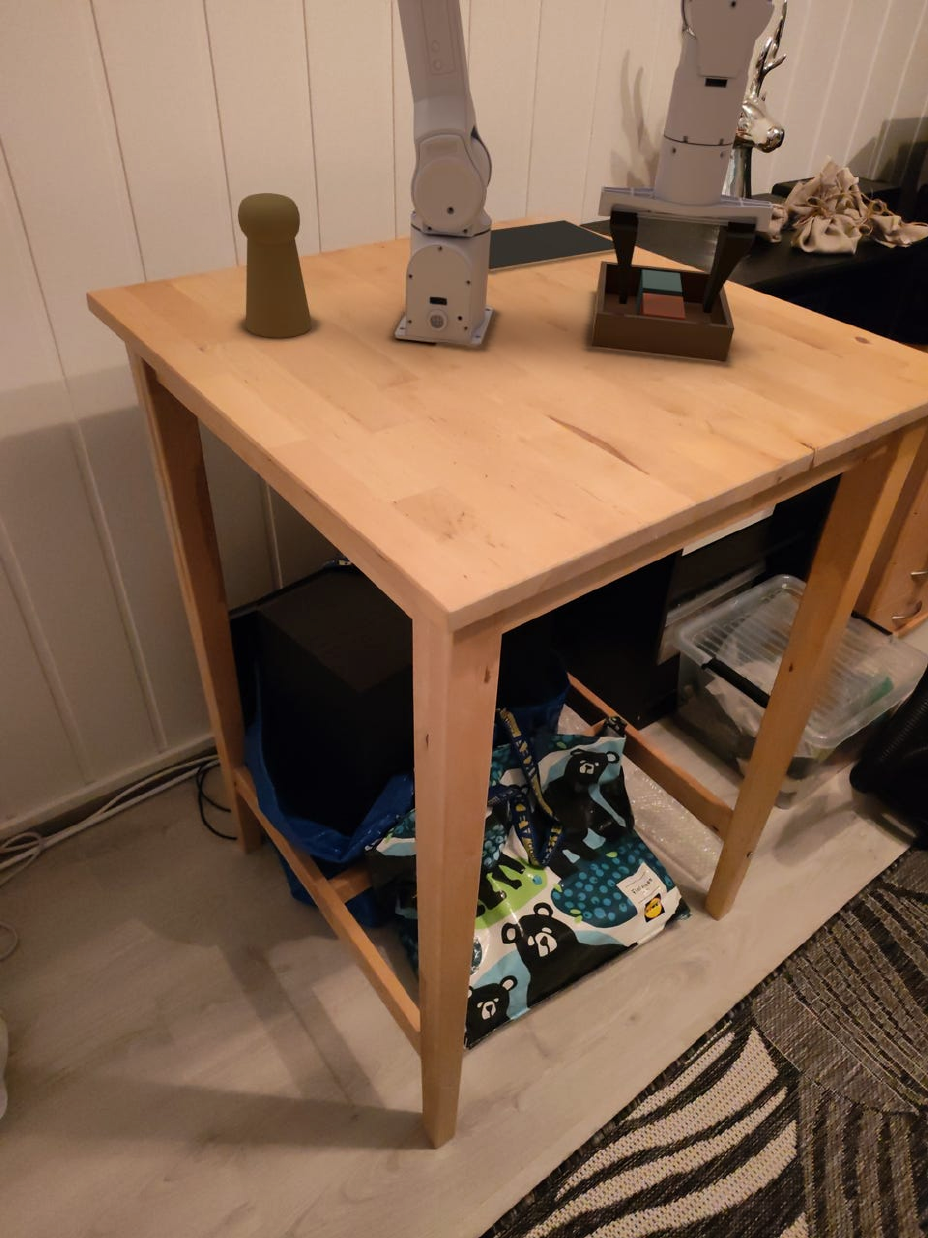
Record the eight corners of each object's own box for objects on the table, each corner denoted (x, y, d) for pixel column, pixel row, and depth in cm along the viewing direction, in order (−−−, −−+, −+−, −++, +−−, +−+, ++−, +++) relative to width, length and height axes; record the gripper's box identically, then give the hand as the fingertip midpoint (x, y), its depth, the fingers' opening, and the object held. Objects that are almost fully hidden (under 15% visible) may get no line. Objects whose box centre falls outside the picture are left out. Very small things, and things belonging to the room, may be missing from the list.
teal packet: (675, 322, 82) (682, 291, 80) (636, 317, 82) (642, 287, 80) (673, 302, 86) (679, 273, 84) (636, 298, 87) (642, 269, 85)
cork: (306, 339, 75) (296, 207, 68) (238, 335, 75) (222, 202, 68) (316, 314, 80) (308, 188, 72) (253, 310, 79) (239, 184, 72)
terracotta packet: (678, 349, 77) (685, 317, 75) (637, 345, 77) (643, 312, 75) (676, 327, 81) (683, 296, 79) (637, 323, 81) (642, 292, 79)
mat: (625, 250, 100) (626, 246, 100) (490, 272, 92) (490, 268, 91) (564, 223, 108) (564, 219, 108) (433, 241, 99) (433, 237, 99)
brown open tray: (724, 365, 76) (734, 328, 73) (590, 349, 77) (596, 313, 74) (712, 306, 87) (720, 273, 85) (596, 293, 88) (601, 260, 86)
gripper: (781, 136, 71) (739, 297, 79) (610, 121, 72) (587, 282, 81) (794, 153, 65) (747, 325, 74) (609, 137, 67) (584, 307, 75)
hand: (664, 304), depth 77 cm, fingers open, 7 cm apart
